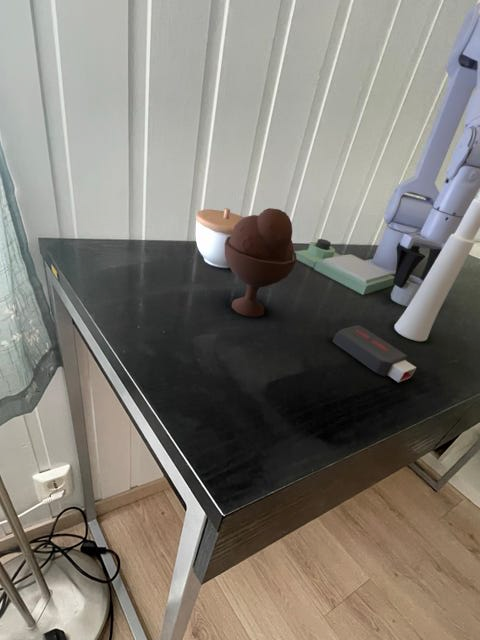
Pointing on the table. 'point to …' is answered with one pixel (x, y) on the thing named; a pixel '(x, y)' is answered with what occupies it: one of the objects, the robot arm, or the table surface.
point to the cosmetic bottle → (440, 278)
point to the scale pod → (315, 254)
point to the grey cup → (406, 291)
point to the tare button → (323, 244)
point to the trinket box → (214, 234)
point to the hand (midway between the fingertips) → (410, 285)
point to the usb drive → (374, 353)
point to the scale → (355, 273)
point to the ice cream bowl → (260, 255)
